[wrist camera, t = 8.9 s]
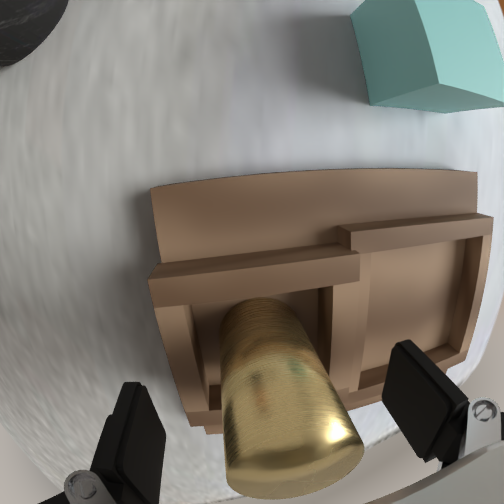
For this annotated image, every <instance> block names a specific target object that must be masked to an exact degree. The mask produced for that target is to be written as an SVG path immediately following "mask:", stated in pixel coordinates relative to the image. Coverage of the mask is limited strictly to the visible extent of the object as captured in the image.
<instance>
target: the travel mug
mask: <svg viewBox="0 0 504 504" xmlns="http://www.w3.org/2000/svg"><path fill="white" fill-rule="evenodd" d="M67 4H68V0H0V66H6V65H10V64H13V63H15V62H18V61H19V60H21V59H23V58H24V57H26V56H27V55H28V54H30V53H31V52H32V51H33V50H34V49H36V48H37V47H38V46H39V45H40V44H41V43H42V42H43V41H44V40H45V38H46V37H47V36H48V35H49V34H50V33H51V31H52V30H53V29H54V27H55V26H56V25H57V23H58V22H59V20H60V18H61V17H62V15H63V13H64V11H65V9H66V6H67Z"/></svg>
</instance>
